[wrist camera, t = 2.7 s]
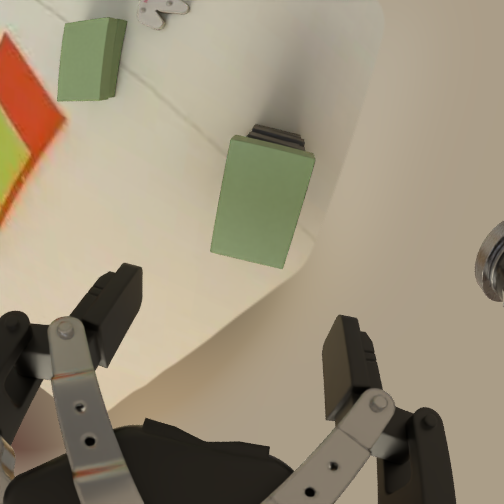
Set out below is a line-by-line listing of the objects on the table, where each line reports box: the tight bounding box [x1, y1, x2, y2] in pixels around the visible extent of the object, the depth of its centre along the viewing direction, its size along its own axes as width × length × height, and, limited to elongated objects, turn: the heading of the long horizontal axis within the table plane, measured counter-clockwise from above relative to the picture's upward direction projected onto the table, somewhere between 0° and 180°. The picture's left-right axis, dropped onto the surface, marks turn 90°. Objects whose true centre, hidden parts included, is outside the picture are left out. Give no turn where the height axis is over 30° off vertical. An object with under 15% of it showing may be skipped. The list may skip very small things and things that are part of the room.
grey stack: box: [246, 125, 305, 151], centre depth 27 cm, size 8×5×9 cm, turn 168°
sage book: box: [210, 135, 315, 269], centre depth 22 cm, size 8×6×2 cm, turn 168°
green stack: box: [57, 17, 127, 101], centre depth 25 cm, size 9×6×4 cm
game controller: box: [137, 0, 189, 30], centre depth 22 cm, size 6×12×3 cm, turn 85°
